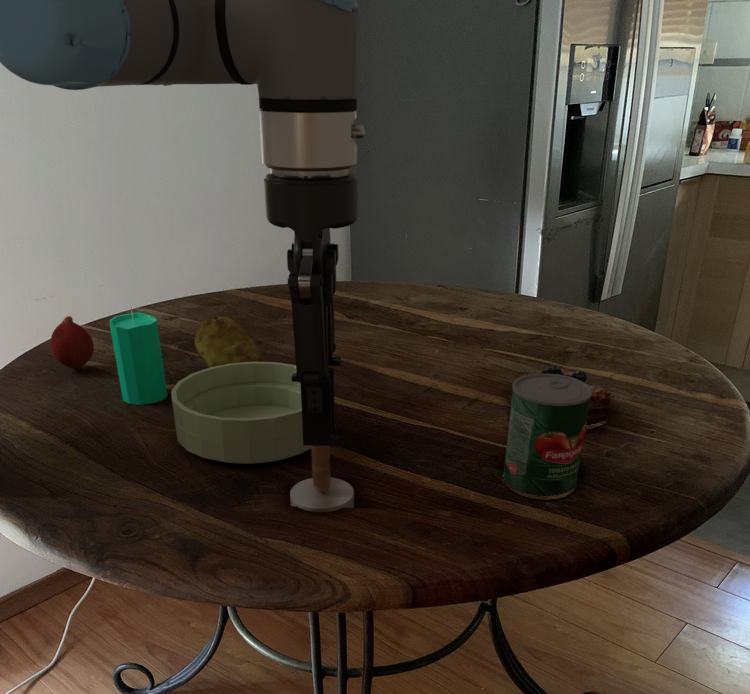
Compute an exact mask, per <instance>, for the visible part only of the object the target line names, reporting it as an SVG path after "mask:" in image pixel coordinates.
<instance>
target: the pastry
mask: <svg viewBox="0 0 750 694" xmlns="http://www.w3.org/2000/svg"><path fill="white" fill-rule="evenodd" d="M539 374H556V375H563V376H568V377H572V378H575V379H578V380H580V381H582V382H584V383H586V384H587V385H588V386H589V387H590V388H591V389H592V396H591V399H590V406H589V412H588V418H587V425H591V424H596V423H598V422H601V421H605V420H607V419H609V420H610V417H609V416H610V414H611V412H609V410H611V409H612V399H611V394H612V393H611V392H610V391H607V390H605V389H606V388H603V387H600V386H599V385H597V386H596V385H595V384H592V382H591V381H587V379H588V377H587V373H586V372H585V371H583V370H576V371H566V370H565V369H561V368H560V367H559V366H558V365H553V366H550V367H549V368H547V369H543V370H542V371H541V372H540V373H539ZM527 375H532V373H530V374H529V373H525V374H524V375H521V374H520V375H518V376H517V377H516V378H515V379H513V380H512V382H511V385H510V387H511V391H510V392H509V393H508V395H507V405H508V404H509V405H510V406H511V401H512V394H513V384H514V382H515V381H516V380H517V379H519V378H521V377H524V376H527Z"/></svg>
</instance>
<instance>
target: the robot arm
mask: <svg viewBox="0 0 750 694" xmlns="http://www.w3.org/2000/svg"><path fill="white" fill-rule="evenodd" d="M358 15H360V6H359V4H358V0H0V64H1V65H2V66H3V67H4V68H5V69H6V70H8V71H9V72H11V73H12V74H14V75H15V76H17V77H19V78H20V79H22V80H25V81H27V82H29V83H32V84H37V85H41V86H52V87H56V88H58V89H63V90H68V91H81V90H88V89H93V88H98V87H99V88H101V87H118V86H121V87H123V86H163V87H167V86H173V85H242V86H246V85H247V86H248V85H249V86H253V85H257V86H256V87H257V93H258V105H259V107H258V108H259V110H258V116H259V117H258V118H259V119H258V120H259V134H260V152H261V164H262V165H263V166H264V167H265V168H266V169H269V173H267V174H266V175H265V178H264V179H263V187H264V188H263V189H264V190H263V191H264V204H265V218H266V220H267V221H268V223H269V224H271V225H272V226H274V227H277V228H282V229H286V228H287V229H290V230H292V231H293V232H294V238H293V242H292V243H291V247H290V248H291V249H287V251H286V252H287V253H286V259H287V260H286V263H287V264H286V265H287V266H286V267H287V271H288V272H289V275H288V278H287V285H288V288H289V295H290V302H291V315H292V329H293V341H294V342H293V343H294V355H295V365H296V370H297V373H293V375H292V382H298V383H300V384H301V406H302V428H303V445H309V446H330V447H332V446H333V442H334V441H333V439H334V437H333V436H334V435H335V433H336V416H335V415H336V412H335V411H336V409H335V368H334V367H341V365H342V356H334V353H335V352H336V350H337V349H336V348H337V344H336V343H335V294H336V291H337V265H338V263H339V243H331V229H333V230H335V229H342V228H346V227H350V226H351V225H353V224H354V223H355V222H356V221H357V220H358V217H359V192H358V191H359V186H358V185H359V182H358V180H359V178H357V177H356V175H355V174H354V173H352V172H350V169H353V168H354V167H355V166H356V165H357V164H358V144H357V142H356V139H363V138H364V137H365V136H366V130H365V127H364V125H363V124H355V123H354V122H355V121H356V120H357V118H358V115H357V114H358V113H357V109H358V99H357V95H358V94H357V92H358V89H357V88H358V26H359V25H358V24H359V23H358V19H359V18H358V17H359V16H358Z"/></svg>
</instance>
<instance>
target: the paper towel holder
mask: <svg viewBox="0 0 750 694" xmlns="http://www.w3.org/2000/svg"><path fill="white" fill-rule="evenodd" d="M310 452H311V474H312V477H311V478H306V479H304V480H301V481H299V482H297V483H296V484H294V485H293V486H292V487H291V489H290V490H289V491H290V492H289V499H290V506H291V507H297V508H298V509H301V510H304V511H307V512H314V513H329V512H335V511H338V510H341V509H346V508H347V509H355V490H354V488H353V486H352V485H351V484H350V483H349V482H347V481H345V480H344V479H342V478H341V479H340V478H338V477H337V478H336V477H331V476H332V474H331V473H332V472H331V470H332V469H331V468H332V467H331V446H311V449H310Z"/></svg>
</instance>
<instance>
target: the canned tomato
mask: <svg viewBox="0 0 750 694" xmlns="http://www.w3.org/2000/svg"><path fill="white" fill-rule="evenodd" d="M523 376H524V375H523ZM516 379H517V378H516ZM591 396H592V389H591V388H590V387H589V386H588V385H587V384H586V383H584V382H582V381H580V380H578V379H575V378H572V377H568V376H563V375H556V374H540V373H533V374H531V375H530V374H529V375H527V376H524V377H521V378H519V379H517V380H516V381H515V382H514V384H513V394H512V401H511V409H509V411H510V413H509V421H508V429H507V431H508V432H507V437H506V448H505V456H504V464H503V467H504V468H503V474H502V477H504V480H505V482H506V483H507V484H508V485H509V486H510V487H512V488H514V489H515V490H517V491H520V492H522V493H527V494H530V495H531V494H532V495H537V496H551V495H552V496H553V495H559V494H563V493H567V492H568V491H570V490H572V489H573V488H574V487H575V485H576V486H577V480H578V476H579V469H580V465H581V464H580V463H581V459H582V453H583V447H584V440H585V435H586V430H585V429H586V425H587V418H588V412H589V406H590V399H591Z"/></svg>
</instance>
